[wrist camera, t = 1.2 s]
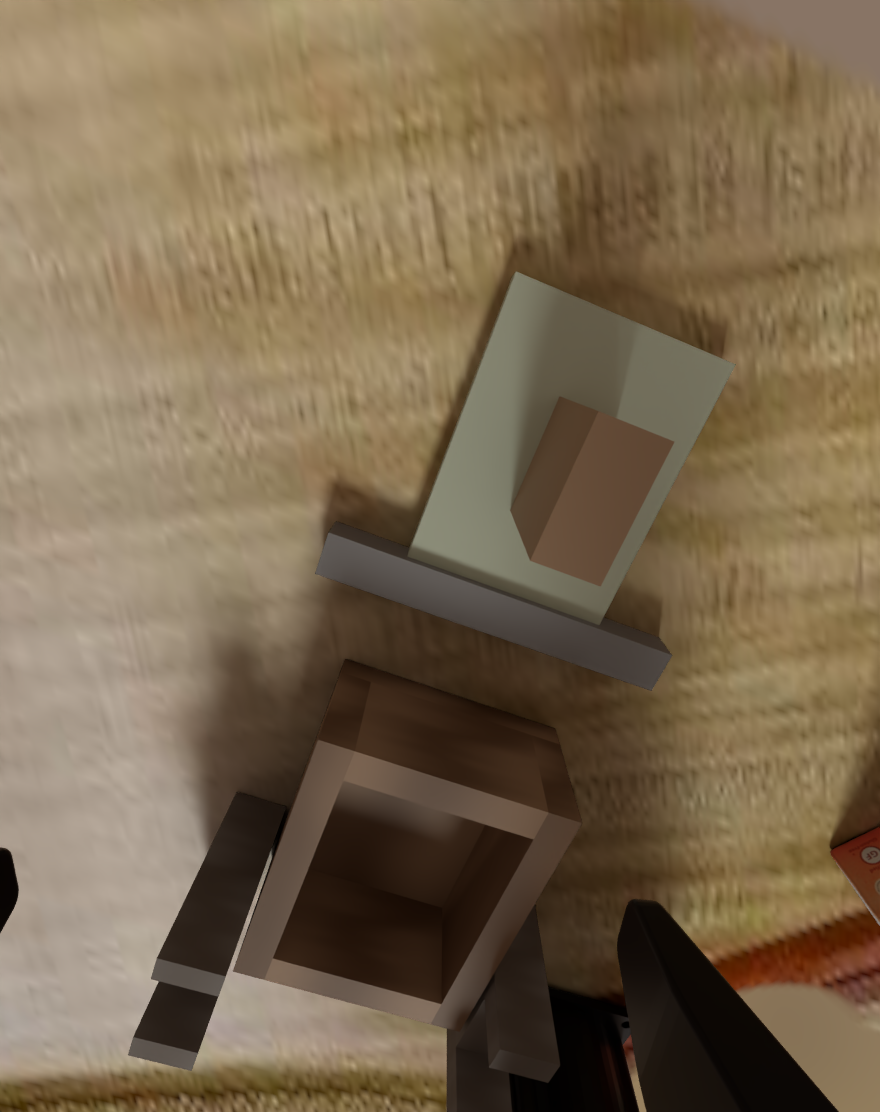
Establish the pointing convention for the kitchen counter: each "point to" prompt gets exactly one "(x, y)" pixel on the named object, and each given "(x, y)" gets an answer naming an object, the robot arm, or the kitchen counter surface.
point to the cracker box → (862, 868)
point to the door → (549, 483)
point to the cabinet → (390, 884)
